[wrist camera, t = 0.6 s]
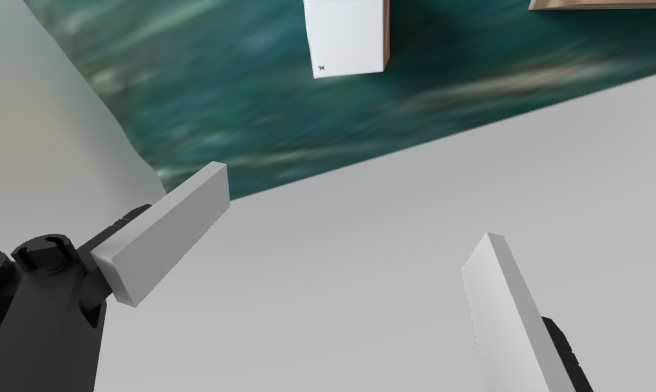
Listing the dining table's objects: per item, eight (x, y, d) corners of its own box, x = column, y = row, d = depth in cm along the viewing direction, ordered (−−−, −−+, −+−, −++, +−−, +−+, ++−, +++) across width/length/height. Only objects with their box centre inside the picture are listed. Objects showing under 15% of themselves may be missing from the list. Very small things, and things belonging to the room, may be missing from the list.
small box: (390, 57, 32) (384, 74, 22) (340, 63, 34) (312, 80, 23) (391, -27, 28) (384, -57, 18) (334, -17, 30) (296, -39, 19)
